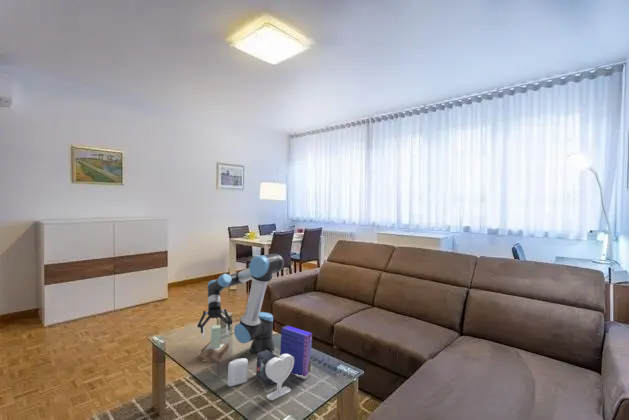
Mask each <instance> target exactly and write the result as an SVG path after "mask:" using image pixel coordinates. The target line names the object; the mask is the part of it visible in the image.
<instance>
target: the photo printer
mask: <svg viewBox="0 0 629 420" xmlns="http://www.w3.org/2000/svg"><path fill="white" fill-rule="evenodd" d="M248 367H249V359H247V358H245V357H244V358H243V357H242V358H236V359H234V360H232V361H230V362H228V368H227V369H228V370H227V386H228V387H233V386H234V387H235V386H237V385H241V384H245V383H247V382H248V370H249V368H248Z"/></svg>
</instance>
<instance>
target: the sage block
mask: <svg viewBox="0 0 629 420" xmlns="http://www.w3.org/2000/svg"><path fill="white" fill-rule="evenodd" d="M221 331H222V327H221V324H213V325H211V326H210V341H211V349H214V348H220V343H221V333H222V332H221Z"/></svg>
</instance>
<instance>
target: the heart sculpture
mask: <svg viewBox="0 0 629 420" xmlns="http://www.w3.org/2000/svg"><path fill="white" fill-rule="evenodd" d="M277 357H279V358H277ZM277 357H274V358H272V359H271V360H270V361H268V362H267V364H266V368H265V370H266V375H267V376H268V378H270V379H271V380H272V381H274V382H276V390H275V391H272V392H270V393H269V394H267V395H266V398H267V399H268V400H270V401H274V400H276V399H277V398H280V397H282V396H284V395H286V394H287V393H290V392H291V391H292V389H291V388H290V386H283V383H284V382H285V381H286V380H287V379H288V378H289V376H290V373H291V371H292V369H293V366H294V357H293V356H291V355H289V354H282V355H281V356H280V355H279V356H277Z"/></svg>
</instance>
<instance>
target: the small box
mask: <svg viewBox="0 0 629 420" xmlns="http://www.w3.org/2000/svg"><path fill="white" fill-rule="evenodd" d="M274 357H277V358H279V357H280V356H277V355H276V354H274V352H272V353H271V352H269V351H268V350H265V351H263V352H260V353H257V355H256V370H255V371H256V372H255V373H256V376H258V377H259V378H260V379H262V380H263V381H264V382H266V383H267V384H268V385H270V386H271V385H274V384H275V383H276V382H274V381H272V380H271V379H270V378H268V376H267V375H266V370H265V368H266V364H267V362H268V361H270V360H271V359H272V358H274ZM276 384H277V383H276Z"/></svg>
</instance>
